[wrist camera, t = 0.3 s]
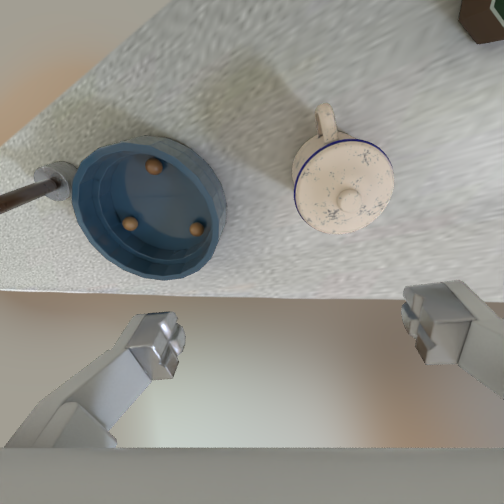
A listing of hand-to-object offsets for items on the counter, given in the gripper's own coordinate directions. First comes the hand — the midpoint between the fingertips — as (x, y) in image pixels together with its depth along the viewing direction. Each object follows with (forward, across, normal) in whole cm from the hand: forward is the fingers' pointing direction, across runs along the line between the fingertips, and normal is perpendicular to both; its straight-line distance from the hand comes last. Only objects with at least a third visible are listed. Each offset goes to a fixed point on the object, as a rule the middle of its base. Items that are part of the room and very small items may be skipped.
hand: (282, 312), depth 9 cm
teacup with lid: (+26, -6, +1) cm, 27 cm away
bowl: (+26, +16, +3) cm, 31 cm away
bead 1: (+24, +22, +4) cm, 33 cm away
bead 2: (+24, +15, -2) cm, 29 cm away
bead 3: (+24, +13, +7) cm, 28 cm away
